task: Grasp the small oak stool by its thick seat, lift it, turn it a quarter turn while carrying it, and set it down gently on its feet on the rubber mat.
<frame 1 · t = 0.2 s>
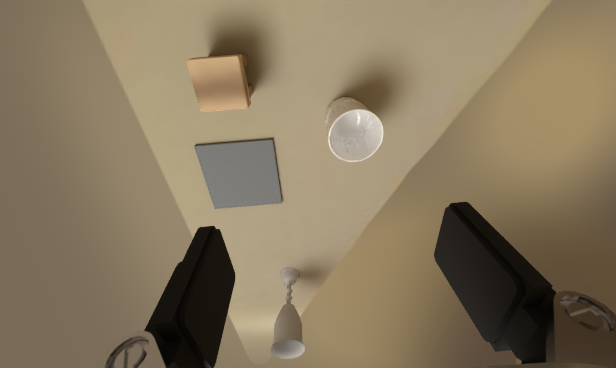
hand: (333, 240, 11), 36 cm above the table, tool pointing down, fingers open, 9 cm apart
chalice: (289, 273, 66), on the table
white cup: (343, 115, 45), on the table
stool: (231, 75, 40), on the table
mat: (241, 175, 50), on the table
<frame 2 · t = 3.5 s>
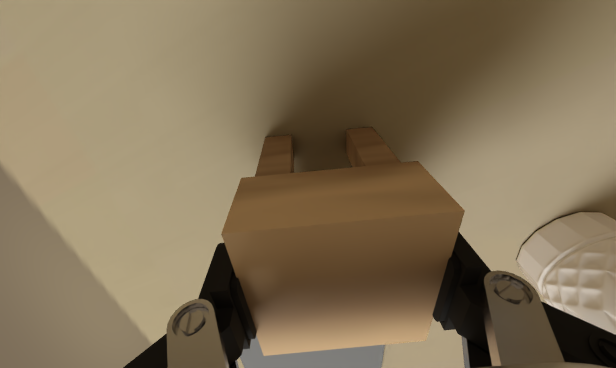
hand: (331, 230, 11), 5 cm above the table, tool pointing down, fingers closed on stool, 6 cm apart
white cup: (559, 243, 20), on the table
stool: (321, 178, 15), on the table, touching gripper
mat: (311, 340, 25), on the table
when the fingers open (6 cm above the table, at t = 10.6 s): stool stays where it is, resting on mat.
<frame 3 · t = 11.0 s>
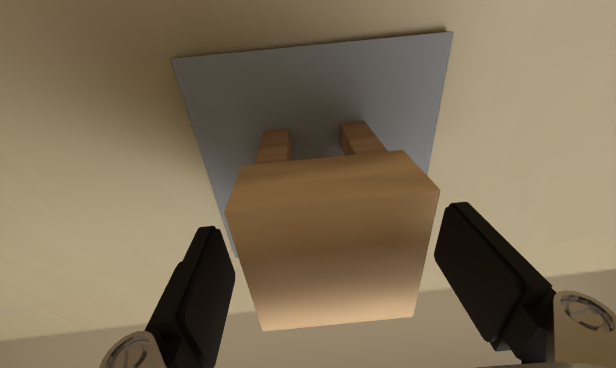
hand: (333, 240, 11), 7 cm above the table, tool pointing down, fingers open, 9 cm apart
stool: (317, 170, 16), point 1 cm above the table, touching mat
mat: (319, 166, 17), on the table
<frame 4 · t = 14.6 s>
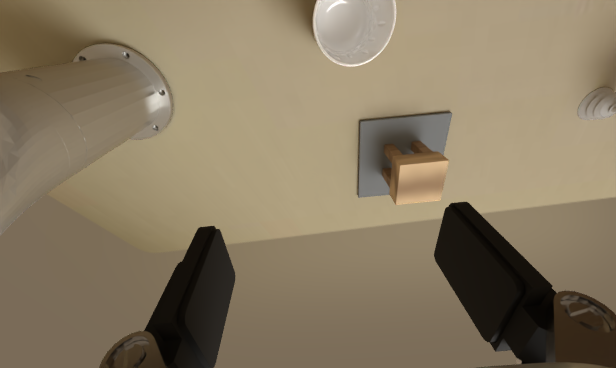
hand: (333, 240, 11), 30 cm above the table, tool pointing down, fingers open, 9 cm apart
chalice: (594, 103, 40), on the table
white cup: (338, 23, 33), on the table
stool: (400, 158, 42), point 1 cm above the table, touching mat
mat: (400, 157, 43), on the table
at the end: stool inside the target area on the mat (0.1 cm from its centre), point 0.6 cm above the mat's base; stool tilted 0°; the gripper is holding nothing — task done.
